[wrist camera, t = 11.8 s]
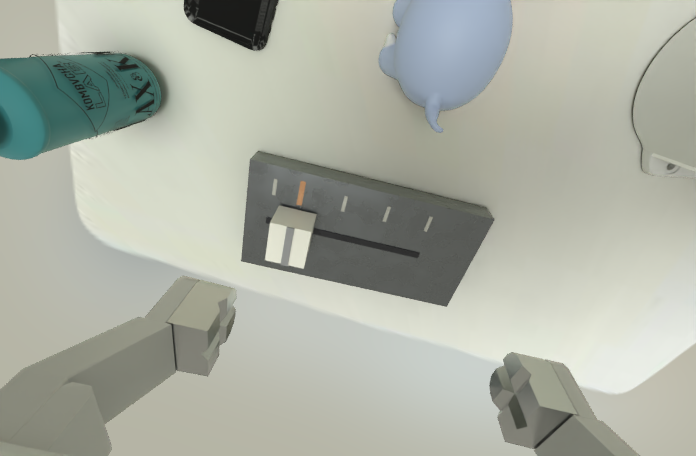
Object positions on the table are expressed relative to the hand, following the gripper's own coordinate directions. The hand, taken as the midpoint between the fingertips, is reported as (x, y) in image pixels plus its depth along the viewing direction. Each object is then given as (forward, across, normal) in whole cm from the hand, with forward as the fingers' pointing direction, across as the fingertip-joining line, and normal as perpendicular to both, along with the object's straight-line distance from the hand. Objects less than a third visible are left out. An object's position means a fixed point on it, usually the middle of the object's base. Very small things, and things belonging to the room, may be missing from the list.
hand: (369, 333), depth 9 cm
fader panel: (+29, -1, +14) cm, 32 cm away
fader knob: (+26, +6, +14) cm, 30 cm away
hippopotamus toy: (+30, -4, -9) cm, 32 cm away
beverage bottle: (+28, +25, +2) cm, 38 cm away
